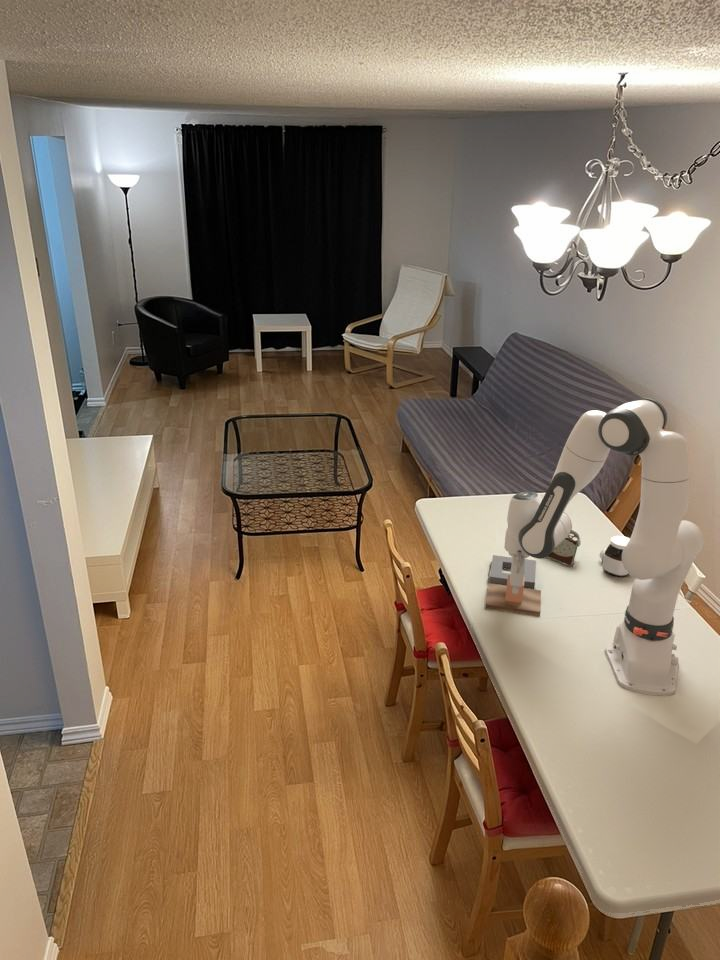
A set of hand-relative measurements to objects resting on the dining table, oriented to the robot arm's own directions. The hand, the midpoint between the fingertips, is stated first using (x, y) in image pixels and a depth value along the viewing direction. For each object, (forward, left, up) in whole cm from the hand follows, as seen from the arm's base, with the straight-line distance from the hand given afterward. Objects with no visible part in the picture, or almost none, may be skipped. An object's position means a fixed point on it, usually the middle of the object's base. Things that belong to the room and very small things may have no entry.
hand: (515, 584), depth 221 cm
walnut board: (0, 0, -6) cm, 6 cm away
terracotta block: (0, 0, -5) cm, 5 cm away
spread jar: (+28, -31, -7) cm, 42 cm away
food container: (+31, -15, -7) cm, 35 cm away
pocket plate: (+16, +1, -6) cm, 17 cm away
